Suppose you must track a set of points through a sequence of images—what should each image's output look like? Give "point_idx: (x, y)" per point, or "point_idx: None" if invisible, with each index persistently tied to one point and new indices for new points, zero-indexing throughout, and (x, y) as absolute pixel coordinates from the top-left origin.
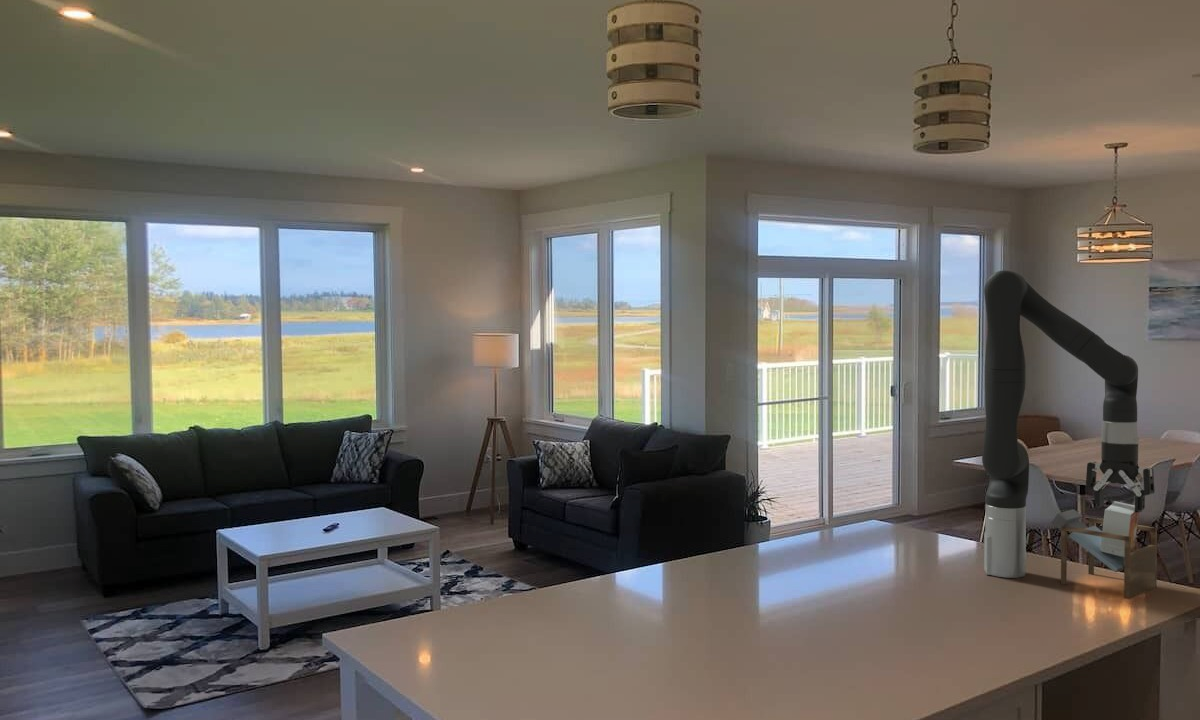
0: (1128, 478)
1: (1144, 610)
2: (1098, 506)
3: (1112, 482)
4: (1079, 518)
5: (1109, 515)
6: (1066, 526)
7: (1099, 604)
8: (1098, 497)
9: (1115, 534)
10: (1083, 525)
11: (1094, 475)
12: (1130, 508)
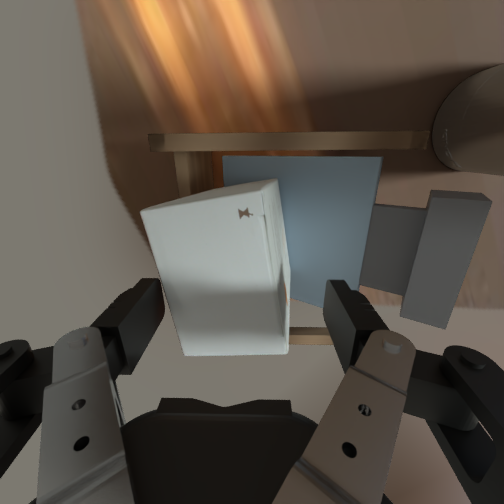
0: (52, 459)
1: (138, 76)
2: (334, 280)
3: (271, 405)
4: (402, 303)
5: (241, 189)
6: (409, 139)
7: (217, 34)
8: (349, 304)
9: (206, 147)
10: (374, 278)
11: (493, 493)
12: (188, 301)
